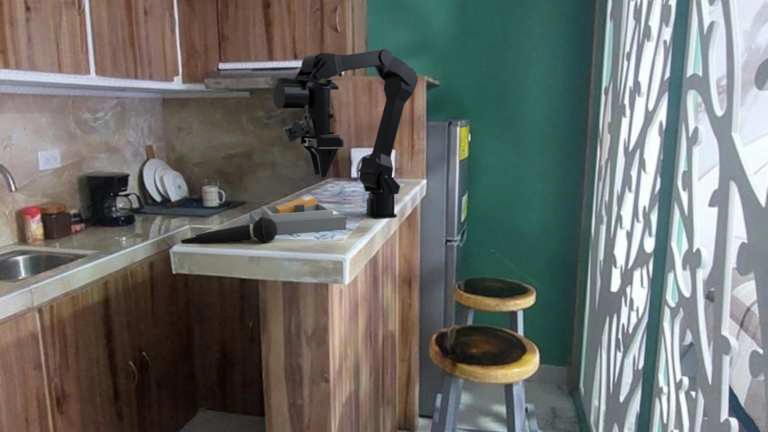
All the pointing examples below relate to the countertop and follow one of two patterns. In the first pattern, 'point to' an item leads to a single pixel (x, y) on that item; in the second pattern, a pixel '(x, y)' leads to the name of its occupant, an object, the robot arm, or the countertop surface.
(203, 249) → the countertop surface
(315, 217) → the switch panel
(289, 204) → the plate
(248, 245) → the countertop surface
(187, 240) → the microphone
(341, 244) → the countertop surface
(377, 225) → the countertop surface
